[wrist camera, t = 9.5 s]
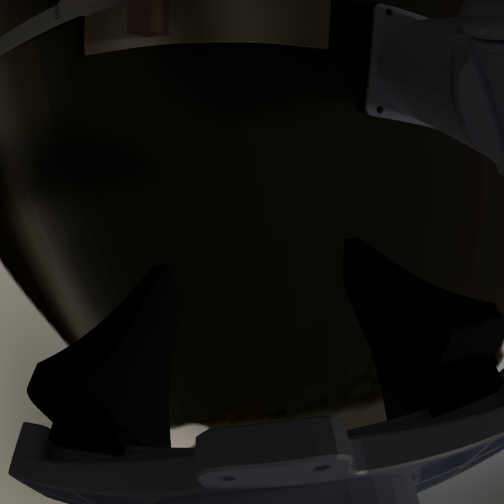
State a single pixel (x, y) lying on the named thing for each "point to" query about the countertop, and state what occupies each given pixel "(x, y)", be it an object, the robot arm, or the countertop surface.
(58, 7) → the caliper
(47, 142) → the countertop surface
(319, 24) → the hinge base
